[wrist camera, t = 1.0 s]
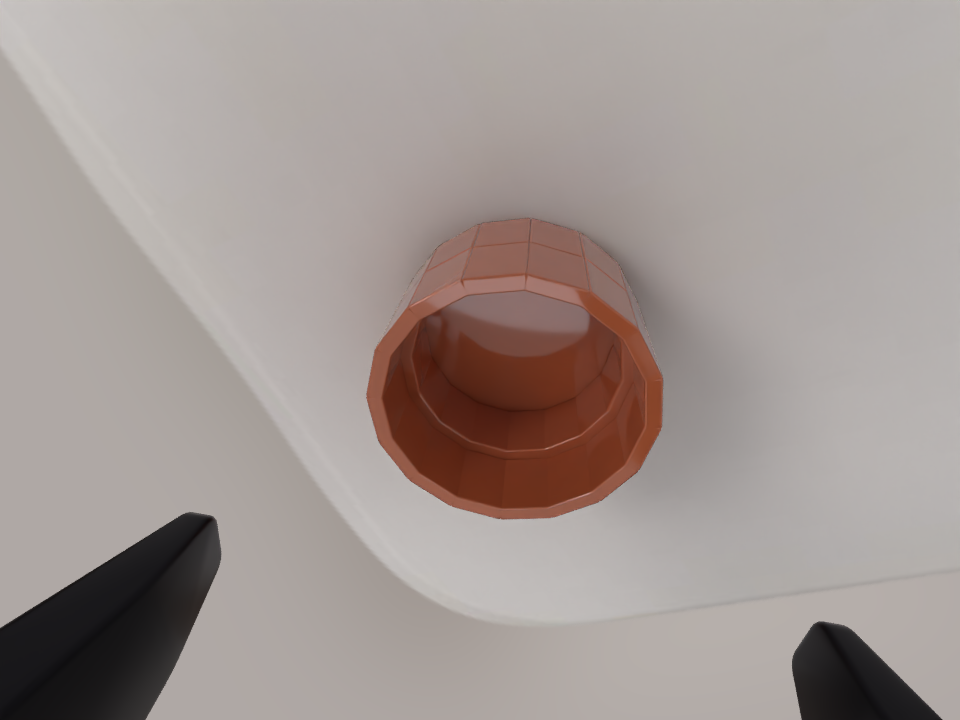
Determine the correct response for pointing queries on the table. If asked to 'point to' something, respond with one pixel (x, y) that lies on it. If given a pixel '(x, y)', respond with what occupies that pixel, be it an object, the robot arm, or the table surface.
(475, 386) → the small bowl
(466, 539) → the table surface
